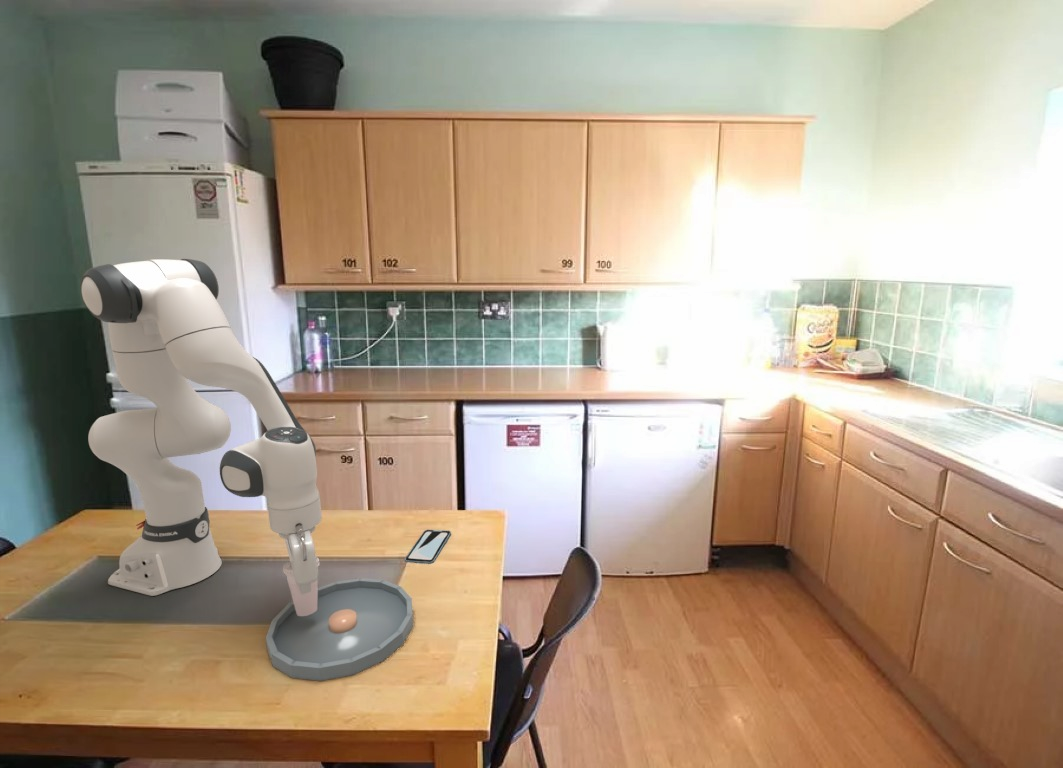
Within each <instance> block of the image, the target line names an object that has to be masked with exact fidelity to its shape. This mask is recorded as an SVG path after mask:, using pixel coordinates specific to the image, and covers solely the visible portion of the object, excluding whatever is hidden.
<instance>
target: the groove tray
mask: <svg viewBox="0 0 1063 768" xmlns="http://www.w3.org/2000/svg"><path fill="white" fill-rule="evenodd" d="M413 613H414V612H413V598H412V597H411V595H409V594H408V592H407V591H406V590H405V589H404V588H403V587H402V586H401V585H397V584H395V583H393V582H390V581H387V580H385V579H377V578H366V577H365V578H364V577H360V578H352V579H347V580H339V581H334V582H331V583H329V584H325V585H322V586H318V598H317V611H316V612H314V613H313V614H310V615H307V616H298V615H297V614H296V610H295V606H294V603H293V600H292V601H290V602H288V603H287V604H286V605H285V606H284V608H282V609H281V611H279V612H278V614H277V615H276V616H274V618H273V619H271V622H270V625H269V628H268V630H267V634H266V636H265V643H266V651H267V653H268V656H269V658H270V661H271V663H272V667H273V668H274V669H277V670H278V671H280V672H282V673H283V674H284V675H286V676H288V677H290V678H292V679H298V680H308V681H316V682H317V681H319V682H322V681H327V680H335V679H338V678H344V677H349V676H350V677H351V676H353V675H356V674H358V673H361V672H363V671H365V670H367V669H369V668H371V667H374V666H376V665H378V664H380V663H383V662H384V661H385V660H386V659H387V658H388V657H390V656H391V655H392V654H393V653H394V652H396V651H397V650H398V649H399V648H400V647H401V646H402V645H404V643H405V642H404V641H406V640H407V638H408V636H409V634H410V632H411V630H412V629H413V627H414V617H413V616H414V614H413Z"/></svg>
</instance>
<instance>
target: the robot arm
mask: <svg viewBox="0 0 1063 768" xmlns="http://www.w3.org/2000/svg"><path fill="white" fill-rule="evenodd" d="M80 281H81V282H80V287H81V288H80V289H81V295H82V300H83V302H84V304H85V306H86V308H87V309H88V311H89V312H90V314H91V315H92V316H93V317H95V318H96V319H98V320H100V321H102V322H105V323H108V324H107V325H108V326H107V327H108V335H109V342H110V346H111V347H110V348H111V353H112V356H113V361H114V365H115V370H116V373H117V374H116V375H117V380H118V382H119V384H120V385H121V387H123V389H125V390H126V392H129V393H130V394H133V395H135V396H139V397H141V398H144V399H146V400H148V401H150V402H152V403H153V404H154V405H155V406H156V407H154V408H141V409H130V410H122V411H117V412H114V413H110V414H107V415H104V416H103V415H102V416H100V417H98V418H97V419H96V420H95V421H94V422H93V423H92V425H91V426H90V429H89V431H88V438H87V439H88V441H87V442H88V445H89V448H90V450H91V452H92V453H93V454H94V456H96V457H97V458H98V459H99V460H101V461H103V462H106V463H108V464H111V465H112V466H114V467H116V468H118V469H119V470H121V471H122V472H123V473H124V474H126V476H128V477H129V478H130V479H131V481H132V482H133V483H134V484H135V487H136V488H137V490H138V492H139V494H140V498H141V501H142V506H143V510H144V515H145V519H144V520H143V521H141V522H139V523H137V524H136V525H135V526H136V530H140V529H141V528H142V532H141V536H139V537H138V538H136V540H134V541H133V542H132V543H130V545H129V546H127V547H126V549H124V550H123V552H122V553H121V554H120V556H119V562H118V563H119V568H118V569H116V570H115V571H114V572H112V574H111V575H110V577H108V580H107V584H108V585H109V586H112V587H116V588H120V589H124V590H128V591H132V592H136V593H139V594H142V595H146V596H151V597H153V596H158V595H161V594H163V593H167V592H169V591H172V590H176V589H180V588H184V587H188V586H191V585H193V584H196V583H199V582H201V581H203V580H205V579H207V578H209V577H210V576H211V575H213V574H215V573H216V572H217V571H218V570H219V569H220V568H221V566H222V563H223V562H222V559H221V558H220V556H219V549H218V547H216V545H215V542H214V538H213V535H212V531H211V528H210V523H211V522H210V516H209V515H210V514H209V511H208V508H207V507H206V506H205V499H204V493H203V491H204V490H203V486H202V481H201V479H200V478H199V476H198V475H197V474H196V473H194V472H193V471H191V470H189V469H185V468H183V467H179V466H176V465H175V464H173V462H171V460H169V458H173V457H175V458H176V457H184V456H193V455H201V454H204V453H208V452H212V451H214V450H218V449H221V448H222V447H224V445H226V443H227V441H229V438H230V435H231V432H232V425H231V421H230V418H229V416H228V414H227V412H225V410H224V409H222V408H221V407H220V406H217V405H215V404H214V403H211V402H209V401H208V400H206V399H205V398H203V397H202V396H201V395H200V394H199V393H198V392H197V391H196V390H195V389H194V388H193V387H192V386H191V384H190V381H191V382H193V383H195V384H199V385H202V386H206V387H212V388H213V387H214V388H219V389H220V388H221V389H226V390H229V391H230V390H231V391H234V392H236V393H238V394H240V395H242V396H243V397H245V398H246V399H247V400H248V401H249V402H250V404H251V405H252V407H253V409H254V410H255V412H256V414H257V416H258V417H259V418H260V420H261V422H262V423H263V425H264V427H265V429H266V432H264V433H263V435H262V436H261V437H258V438H257V439H255V440H252V441H249V442H245V443H242V444H240V445H237V446H235V447H233V448H231V449H230V450H228V451H226V452H225V453H224V454H223V455H222V458H221V460H220V463H219V477H220V480H221V483H222V485H223V487H224V488H225V489H226V490H227V491H228V492H229V493H231V494H233V495H234V496H237V497H239V498H240V497H241V498H257V497H262V496H263V497H265V498H266V501H267V504H266V505H267V511H268V513H267V514H268V520H269V527H270V530H271V531H272V532H274V533H276V534H278V536H279V538H282V539H284V540H285V544H286V549H287V553H288V558H289V561H290V562H291V566H292V570H293V574H294V578H295V582H296V584H297V585H298V586H300V591H301V594H305V593H308V592H310V591H311V583H312V582H315V581H317V579H319V569H318V570H317V562H316V557H317V556H316V555H317V554H316V548H315V544H314V540H313V537H312V533H313V532H315V530H316V528H317V527H316V526H317V525H319V524H321V521H322V518H323V516H322V507H321V506H322V505H321V504H322V503H321V498H320V496H321V495H320V492H319V489H318V487H317V478H318V467H317V447H316V444H315V442H314V440H313V438H312V437H311V436H310V434H309V432H307V430H306V429H305V428H304V427H303V426H302V425H301V424H300V422H299V421H298V419H297V417H296V416H295V415H294V413H293V411H292V408H291V407H290V406H289V404H288V403H287V400H286V399H285V397H284V395H283V394H282V393H281V391H280V389H279V387H278V386H277V384H276V382H275V380H274V379H273V378H272V376H271V375H270V372H269V371H268V370H267V368H266V367H265V366H264V364H263V363H262V362H261V361H260V360H259V359H257V358H256V357H254V356H252V355H251V354H249V353H248V351H246V349H245V348H244V347H243V346H242V345H241V343H240V342H239V340H238V339H237V337H236V336H235V333H234V332H233V329H232V326H231V325H230V323H229V321H228V318H227V316H226V315H225V313H224V310H223V309H222V307H221V305H220V303H219V302H218V300H217V299H218V297H219V294H220V293H219V291H220V289H219V283H218V278H217V276H216V274H215V272H214V270H212V269H211V267H210V265H208V264H207V263H206V262H204V261H200V260H197V259H192V258H191V259H190V258H181V259H167V258H165V259H161V258H160V259H158V258H157V259H155V258H154V259H146V260H143V261H142V260H139V261H132V262H131V261H130V262H124V263H123V262H122V263H118V264H111V263H107V264H101V265H97V266H94V267H91V268H88V269H87V270H86V271H85V272H84V274H83V276H82V277H81V280H80ZM188 380H189V381H188Z"/></svg>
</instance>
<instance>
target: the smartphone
mask: <svg viewBox="0 0 1063 768" xmlns="http://www.w3.org/2000/svg"><path fill="white" fill-rule="evenodd" d="M451 535H452V532H451V530H445V529H443V530H442V529H425V530H424V531H423V532H422V533H421V535H420V536H419V537H418V539H417V540H416V542H415V543H414V544H413V546H412V547H411V549H410V551H409V552H408V553H407V555H405V558H404V562H406V563H415V564H417V563H418V564H427V565H430V564H433V563H435V562H436V560H437V558H438V557H439V555H440V554H441V552H442V550H443V548H444V547H445V546H446V544H447V542H448V540H449V539H450V537H451Z"/></svg>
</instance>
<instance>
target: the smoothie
mask: <svg viewBox="0 0 1063 768" xmlns="http://www.w3.org/2000/svg"><path fill="white" fill-rule="evenodd" d="M316 562H317V570H318V571H319V566H320V559H319V557H318V556H316ZM282 569H283V574H284V575H285V576H286V581H287V584H288V588H289V590H290V596H291V598H292V601H293V603H294V606H295V610H296V614H297V615H298V616H307V615H310V614H313V613H314V612H316V611H317V598H318V588H319V586H318V585H319V580H318V579H319V578H318V579H317V581H315V582H312V583H311V591H310V592H308V593H305V594H301V591H300V586H298V585H297V584H296V582H295V578H294V574H293V570H292V566H291V562H290V560H289V561H287V562H285V564H283V565H282Z"/></svg>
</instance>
